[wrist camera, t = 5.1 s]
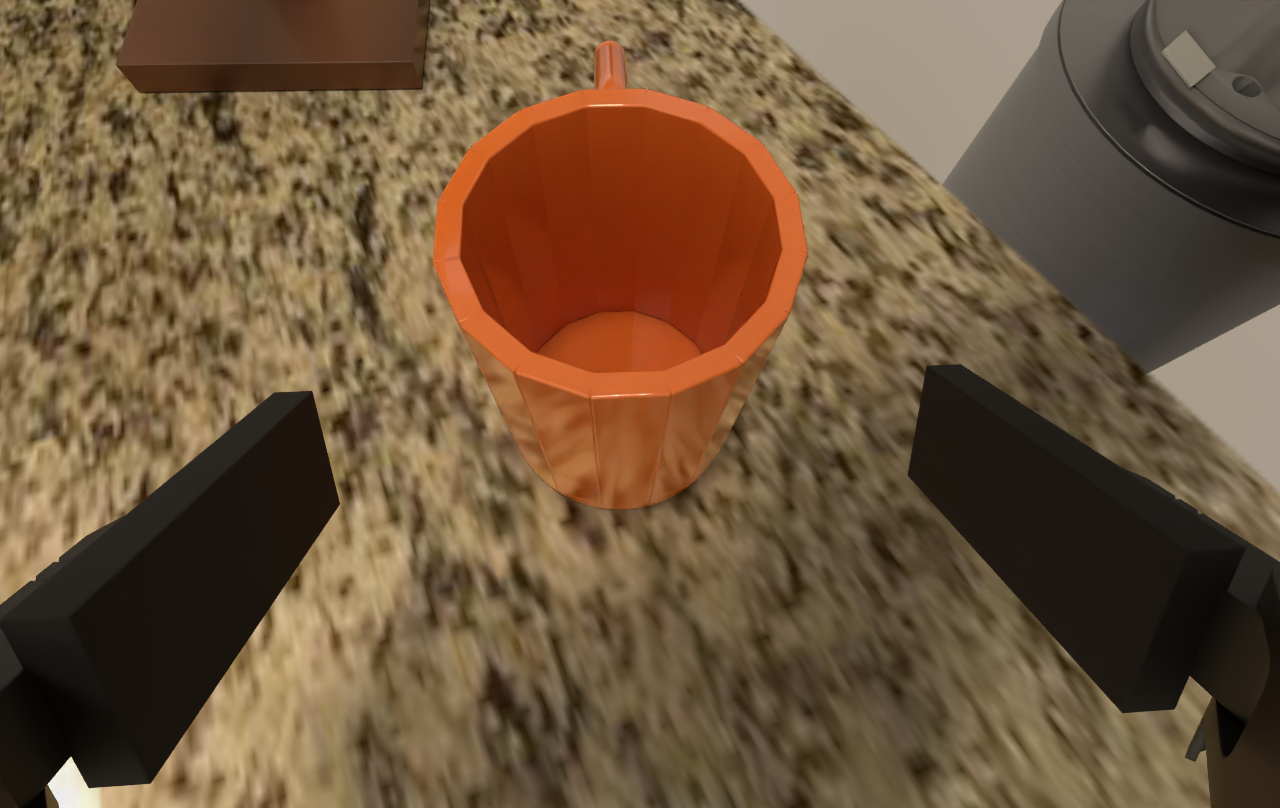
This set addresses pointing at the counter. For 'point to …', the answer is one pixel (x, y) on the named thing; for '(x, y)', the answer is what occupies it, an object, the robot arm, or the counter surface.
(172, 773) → the counter surface
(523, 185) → the mug
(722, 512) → the counter surface
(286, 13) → the stand
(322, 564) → the counter surface
